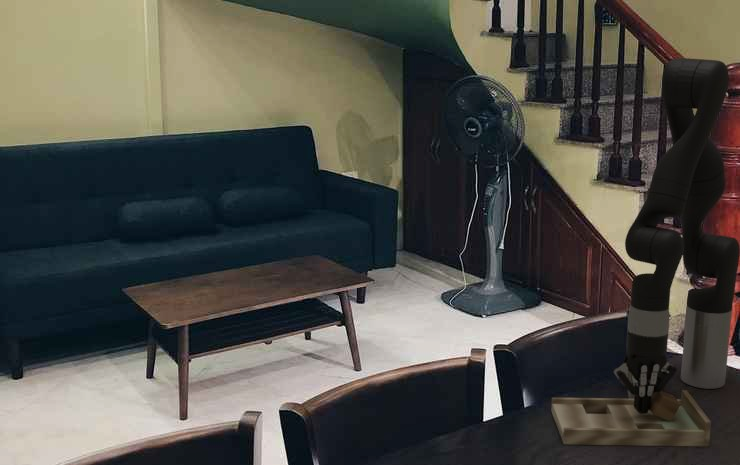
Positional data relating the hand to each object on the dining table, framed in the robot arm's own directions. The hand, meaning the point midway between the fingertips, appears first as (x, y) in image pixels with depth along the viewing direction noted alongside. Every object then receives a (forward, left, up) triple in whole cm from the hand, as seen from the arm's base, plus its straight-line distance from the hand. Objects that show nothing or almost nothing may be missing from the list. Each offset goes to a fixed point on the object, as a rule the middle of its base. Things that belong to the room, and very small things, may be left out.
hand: (641, 411), depth 172 cm
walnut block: (0, +3, 0) cm, 3 cm away
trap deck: (+1, -3, -3) cm, 5 cm away
